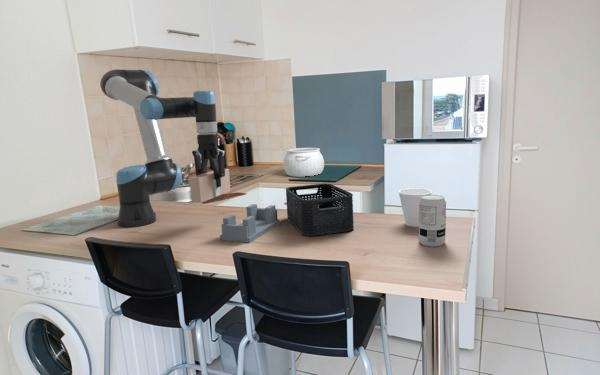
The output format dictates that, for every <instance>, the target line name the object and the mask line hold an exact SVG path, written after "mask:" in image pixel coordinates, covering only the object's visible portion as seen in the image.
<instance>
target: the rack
mask: <svg viewBox="0 0 600 375" xmlns="http://www.w3.org/2000/svg"><path fill="white" fill-rule="evenodd" d="M245 209H246V217H245V218H243V219H242V223H241V224H237V222H236V214H229V215H227V216H225V217H223V218H222V224H221V234H219V240H221V241H231V242H241V243H242V242H243V243H251V242H253V241H254V240H255V241H256V239H257V238H259V237H261V236H263V235H265V234H266V233H267V232H269V231H271V229H274V228H275V227H276V225H277V226H278V225H280V224H281V220H280V218H279V219H278V209H276V205H275V204H271V205H270V204H269V205H267V206H266V207H265V208H258V204H257V203H256V204H255V203H252V204H249V205H248V206H246V207H245ZM265 232H266V233H265Z"/></svg>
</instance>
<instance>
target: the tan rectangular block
mask: <svg viewBox="0 0 600 375" xmlns="http://www.w3.org/2000/svg"><path fill="white" fill-rule="evenodd" d="M214 178H215V176H214V172H213V170H211V171H207V173H204V174H200V175H197V176H196V175H194V176H190V177H189V185H190V187H189V188H190V196H191V203H197V204H198V203H200V204H203V203H202V202H204V201H207V200H209V199H212V198H214V197H217V196H214V183H213V179H214ZM229 192H231V178H230V168H225V176H224V177H221V187H220V195H222V194H228V193H229ZM218 196H219V195H218Z"/></svg>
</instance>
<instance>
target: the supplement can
mask: <svg viewBox="0 0 600 375" xmlns="http://www.w3.org/2000/svg"><path fill="white" fill-rule="evenodd" d="M446 219H447V201H446V200H445V196H443V195H439V194H431V195H424V196H421V199H420V200H419V221H418V230H417V231H418V234H417V235H418V236H417V237H418V242H419V243H420V244H421V245H422V246H426V247H441V246H443V245H444V243H446V225H447V224H446V223H447V220H446Z"/></svg>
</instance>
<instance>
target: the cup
mask: <svg viewBox="0 0 600 375" xmlns="http://www.w3.org/2000/svg"><path fill="white" fill-rule="evenodd" d="M398 194H399V200H400V205H401V209H402V213H403V219H404V224H405V225H406V226H407V227H415V228H417V227H418V221H419V200H420V199H421V196H424V195H433V191H432V190H431V189H428V188H427V189H426V188H419V187H415V188H413V187H411V188H403V189H399V190H398Z"/></svg>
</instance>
